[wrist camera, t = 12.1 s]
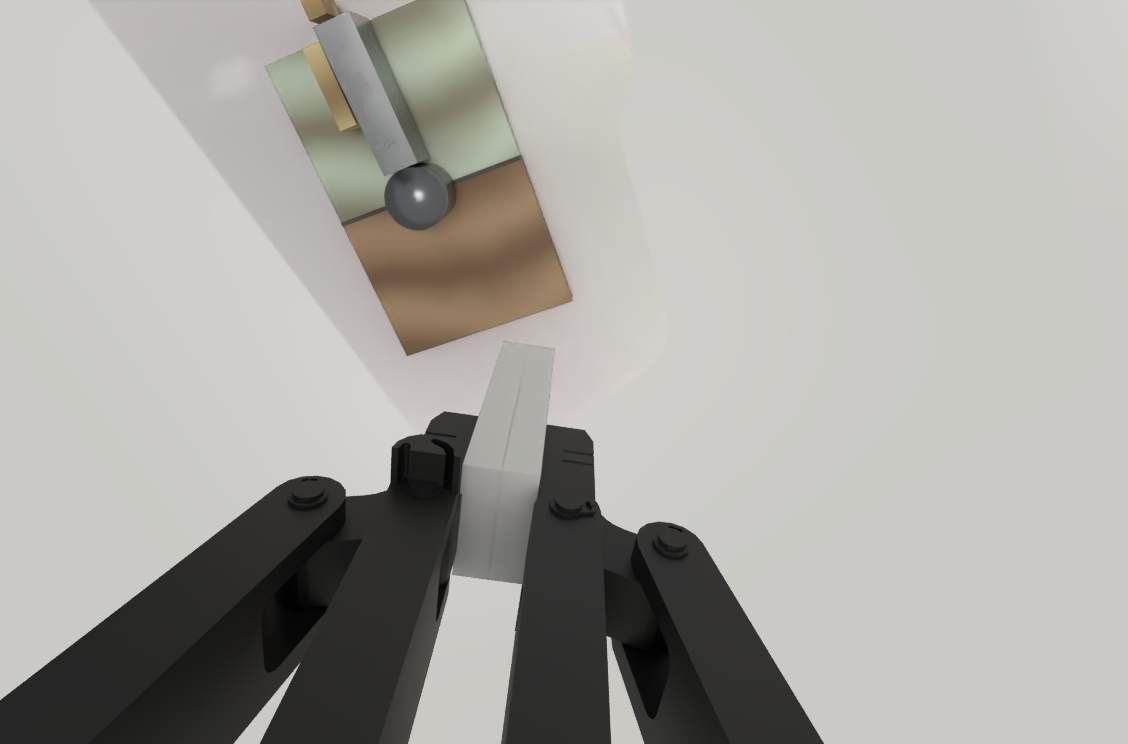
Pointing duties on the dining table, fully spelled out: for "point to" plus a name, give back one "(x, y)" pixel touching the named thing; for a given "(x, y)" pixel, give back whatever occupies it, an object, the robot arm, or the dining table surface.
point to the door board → (454, 142)
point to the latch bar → (386, 123)
